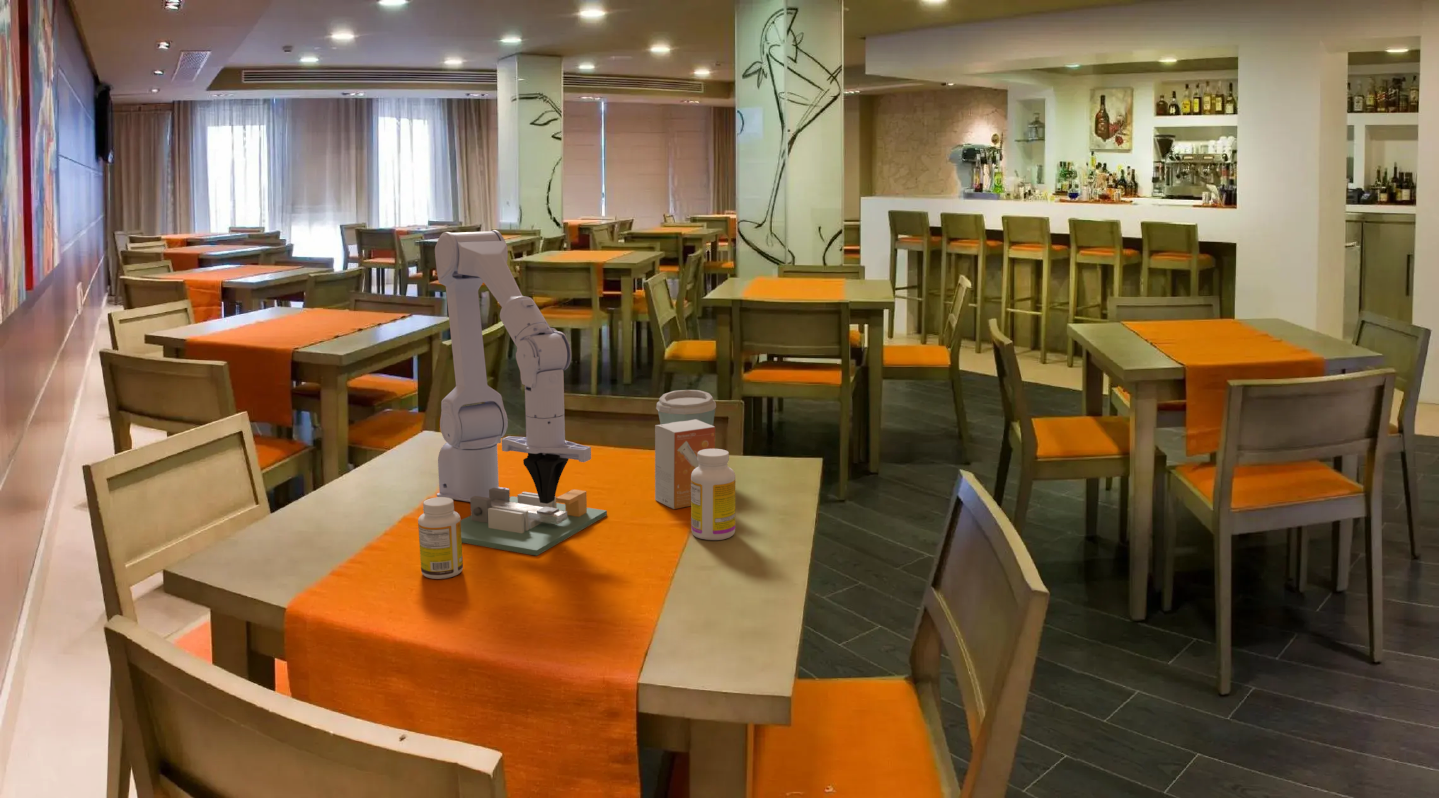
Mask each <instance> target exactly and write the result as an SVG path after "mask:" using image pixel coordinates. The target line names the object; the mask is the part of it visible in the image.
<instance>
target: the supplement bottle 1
mask: <svg viewBox="0 0 1439 798" xmlns="http://www.w3.org/2000/svg"><path fill="white" fill-rule="evenodd" d="M422 504H423V505H422V507H423V508H422V511H423V513H422V514H420V516H419V517H418V519H417V523H418V542H419V543H418V544H419V555H420V556H419V557H420V569H421V574H422V576H424V577H426V578H429V579H433V580H434V579H435V580H443V579H444V580H445V579H449V578H452V577H456V576H457V575H459V574H460V573H461V572H462V571H463V570H464V569H463V568H464V563H463V543H462V540H461V520H462V519H461V515H460V513H458V512H457V511H455V504H454V499H451V498H447V497H437V496H436V497H431V498H428V499H426V500H424V501H423V503H422Z"/></svg>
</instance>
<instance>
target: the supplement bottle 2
mask: <svg viewBox="0 0 1439 798" xmlns="http://www.w3.org/2000/svg"><path fill="white" fill-rule="evenodd" d="M697 460H698V462H699V467H697V468H695V469H694V470H693V471H692V474H691V506H690V508H691V509H690V511H691V512H690V515H691V517H690V520H691V521H690V525H691V526H690V527H691V533H692V535H693V536H694V537H696V538H698V539H700V540H705V541H721V540H725V539H726V540H727V539H729V538H731V537H733V535H735V533H736V473H735V470H734V469H733V468H731V467H730V466H728V463H729V460H730V453H729V451H728V450H727V449H726V450H725V449H721V448H715V449H703V450H700V451H698V457H697Z"/></svg>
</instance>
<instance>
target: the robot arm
mask: <svg viewBox="0 0 1439 798" xmlns="http://www.w3.org/2000/svg"><path fill="white" fill-rule="evenodd" d="M508 253H509V251H508V245H507V243H506V240H505V238H504V236H503V235H502V233H501V232H500V231H499V230H496V229H493V230H492V229H491V230H489V231H488V230H487V231H466V232H462V231H461V232H450V231H444V232H442V233H441V234H440V235H439V237H438V239H437V242H436V245H435V247H434V254H435V255H434V257H435V265H436V274H437V281H438V284H441V285H443V286H445V290H446V291H445V293H446V301H447V310H448V311H447V312H448V319H449V320H448V321H449V328H450V329H449V330H450V341H451V351H452V359H453V369H454V379H455V387H454V388H453V389H452V390H451V391H450V392H449V393H447V395H446V396H445V397H444V398H442V400H441V404H440V405H441V406H440V407H441V408H440V409H441V413H440V420H439V427H440V433H441V434H442V435H441V436H442V437H443V440H444V441H445V442H446V443H444V444H443V445H442V446H441V447H440V450H439V453H438V458H437V469H438V470H437V471H438V484H439V485H438V486H439V487H438V488H439V489H438V490H439V491H438V492H437V493H436V497H447V498H451V499H452V500H456V501H461V502H467V503H471V502H470V498H471V497H473V496H480V497H486V498H489V489H491V488H500V489H506V490H509V492H510V491H511V490H510V488H509V487H508V488H507V487H502V486H501V487H500V486H499V483H500V481H499V462H498V461H499V460H498V444H500V443H501V450H502V452H506V453H507V452H518V453H525V454H527V456H526V457H525V458H523V461H522V462H523V465H524V467H525V468H526V470H527V471H528V473H529V475H530V477H531V479H532V481H533V484H534V486H535V489H536V492H537V493H536V494H538V497H539V500H540V503H545V504H548V503H550V502H552V501H554V499H555V496H556V493H557V489H558V486H559V482H560V479H561V476H562V474H563V472H564V470H565V467H566V466H567V463H569V459H570V460H575V461H576V460H577V461H578V462H580V463H586V462H588V461H590V460H591V459H592V447H591V446H588V445H583V444H580V443H576V442H573V441H568V440H566V431H565V429H566V424H565V423H566V422H565V391H564V390H565V383H564V379H565V378H564V371H566V370H567V369H568V368H569V366H570V364H571V361H572V349H571V344H570V342H569V340H568V338H567V336H566V334H565V333H564V332H562V331H558V330H557V329H556V328H554V327H551V326H550V324H549V323H548V322H547V320H546V318H545V317H544V315H543V313H542V312H541V310H540V309H539V307H538V305H537V304H536V302H535V301H534V300H533V298H532V297H529V296H526V295H525V296H524V295H523V294H522V292H521V289H520V288H519V286H518V284H517V281H516V279H515V278H514V275H513V274H512V271H511V270H510V267H509V265H508V258H509V255H508ZM483 284H484V285H485V286H486V288H487V289H488V290H489V291H490V293H491V295H492V296H493V298H494V299H495V300H496V301H497V302H498V304H499V305H500V307H501V309H500V312H499V319H500V321H501V322H502V325H504V328H505V330H506V331H507V333H508V335H509V336H510V338H511V340H512V341H513V343H514V345H515V346H516V352H515V359H516V363H517V366H518V369H519V372H520V381H521V384H522V385H523V386H524V408H525V435H526V436H511V435H508V436H506V437H505V434H506V432H507V430H508V426H509V423H508V421H509V420H508V415H507V412H506V410H505V406H504V402H503V397H502V394H501V393H499V392H498V391H497V390H496V389H493V388H492V387H491V386H489V385H488V379H487V377H488V376H487V368H486V358H485V350H484V348H485V347H484V339H483V328H482V319H481V317H482V316H481V309H480V308H481V306H480V300H479V290H480V288H481V286H482V285H483ZM470 404H472V405H470ZM465 405H466V406H465Z"/></svg>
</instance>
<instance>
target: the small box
mask: <svg viewBox="0 0 1439 798" xmlns="http://www.w3.org/2000/svg"><path fill="white" fill-rule="evenodd" d="M654 445H655V447H654V479H655V480H654V481H655V482H654V489H655V490H654V500H655V501H656V502H659V503H660V504H663V505H664V506H667V507H668V508H670V509H673V510H677V509H682V508H687V507H691V474H692V471H693V470H694V469H695V468H697V467H699V462H698V460H697V457H698V451H700V450H703V449H716V426H714V425H713V426H712V425H709V424H707V423H704V422H702V421H699V420H697V419H694V420H689V421H679V422H672V423H668V424H661V425H660V424H655V425H654Z"/></svg>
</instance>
